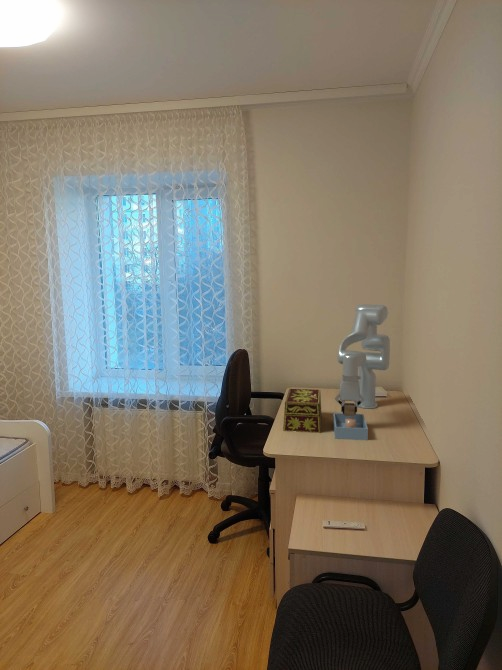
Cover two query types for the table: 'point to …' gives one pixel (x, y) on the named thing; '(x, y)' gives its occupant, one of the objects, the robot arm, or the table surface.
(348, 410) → the walnut block
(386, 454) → the table surface
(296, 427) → the decorative box
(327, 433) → the table surface
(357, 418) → the tote
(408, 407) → the table surface
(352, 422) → the canister
